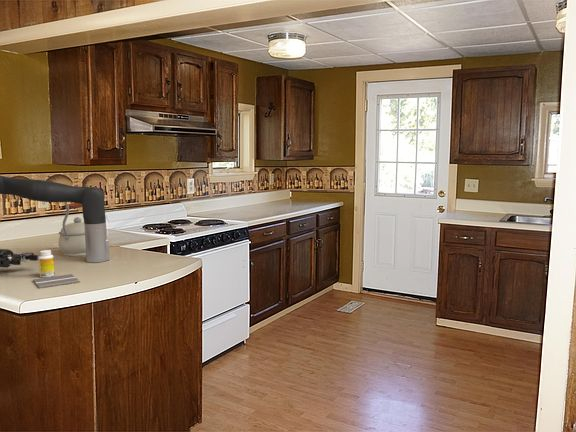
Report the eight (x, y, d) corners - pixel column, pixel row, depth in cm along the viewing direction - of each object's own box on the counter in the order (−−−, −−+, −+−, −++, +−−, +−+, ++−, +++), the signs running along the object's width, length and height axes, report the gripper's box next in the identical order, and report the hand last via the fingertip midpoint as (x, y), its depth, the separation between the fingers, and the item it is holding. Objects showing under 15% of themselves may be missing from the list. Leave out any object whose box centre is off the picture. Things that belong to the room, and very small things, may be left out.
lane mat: (71, 275, 205) (71, 273, 205) (79, 282, 193) (79, 280, 193) (32, 280, 197) (32, 279, 197) (39, 288, 185) (39, 286, 185)
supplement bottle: (57, 276, 204) (55, 250, 203) (43, 278, 200) (41, 252, 199) (51, 273, 208) (49, 249, 207) (37, 276, 204) (35, 251, 203)
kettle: (83, 258, 238) (80, 205, 235) (48, 257, 242) (44, 204, 239) (112, 248, 263) (109, 199, 259) (80, 247, 266) (76, 199, 263)
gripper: (-18, 252, 205) (13, 254, 199) (12, 245, 218) (42, 247, 213) (-16, 270, 206) (14, 273, 200) (14, 263, 219) (43, 265, 214)
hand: (28, 260), depth 207 cm, fingers open, 8 cm apart
